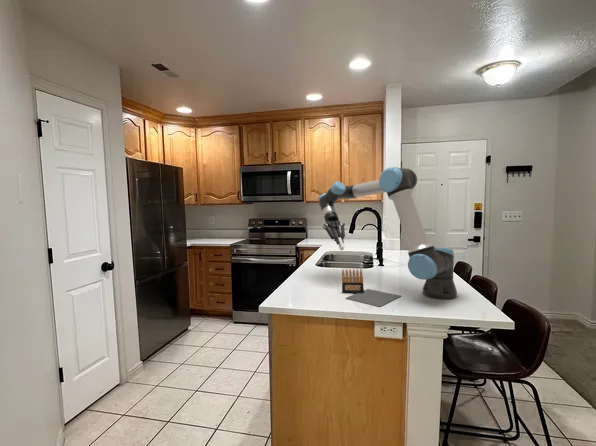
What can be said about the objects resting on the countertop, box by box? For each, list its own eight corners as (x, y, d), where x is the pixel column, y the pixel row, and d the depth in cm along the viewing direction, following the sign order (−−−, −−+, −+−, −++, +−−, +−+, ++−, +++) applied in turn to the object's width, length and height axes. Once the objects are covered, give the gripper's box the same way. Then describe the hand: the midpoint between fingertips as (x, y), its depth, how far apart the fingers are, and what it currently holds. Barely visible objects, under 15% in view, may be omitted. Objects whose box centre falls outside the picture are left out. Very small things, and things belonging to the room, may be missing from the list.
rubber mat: (400, 296, 149) (401, 295, 149) (380, 307, 134) (380, 306, 134) (367, 289, 161) (367, 288, 161) (345, 298, 147) (345, 297, 147)
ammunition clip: (363, 292, 155) (362, 268, 155) (363, 292, 153) (362, 268, 153) (342, 291, 158) (341, 268, 157) (342, 292, 156) (340, 269, 155)
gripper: (338, 219, 184) (351, 252, 169) (318, 220, 180) (329, 253, 166) (342, 211, 179) (355, 243, 164) (321, 211, 175) (332, 245, 160)
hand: (342, 248), depth 165 cm, fingers closed
